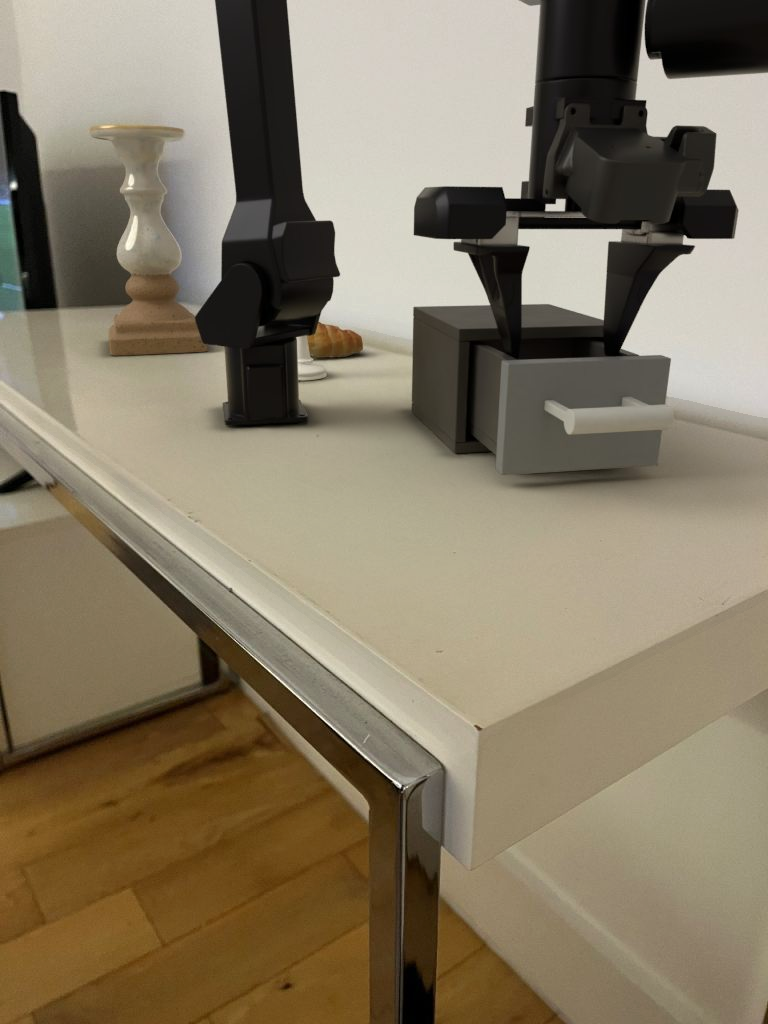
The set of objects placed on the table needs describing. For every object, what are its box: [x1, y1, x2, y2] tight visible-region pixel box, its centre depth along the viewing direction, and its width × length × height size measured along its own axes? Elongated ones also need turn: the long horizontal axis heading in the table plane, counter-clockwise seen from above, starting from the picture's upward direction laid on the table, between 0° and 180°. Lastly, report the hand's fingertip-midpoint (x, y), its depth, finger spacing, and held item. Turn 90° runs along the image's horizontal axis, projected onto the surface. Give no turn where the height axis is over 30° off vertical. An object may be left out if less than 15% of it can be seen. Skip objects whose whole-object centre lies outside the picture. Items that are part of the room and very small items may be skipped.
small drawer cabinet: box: [411, 303, 604, 454], centre depth 63 cm, size 13×12×9 cm
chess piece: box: [296, 335, 328, 382], centre depth 81 cm, size 5×5×10 cm
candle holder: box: [89, 124, 209, 356], centre depth 95 cm, size 11×11×24 cm
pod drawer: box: [466, 337, 675, 476], centre depth 53 cm, size 16×10×7 cm, turn 12°
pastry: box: [307, 321, 364, 359], centre depth 93 cm, size 9×7×4 cm
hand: (562, 357), depth 52 cm, fingers open, 6 cm apart
